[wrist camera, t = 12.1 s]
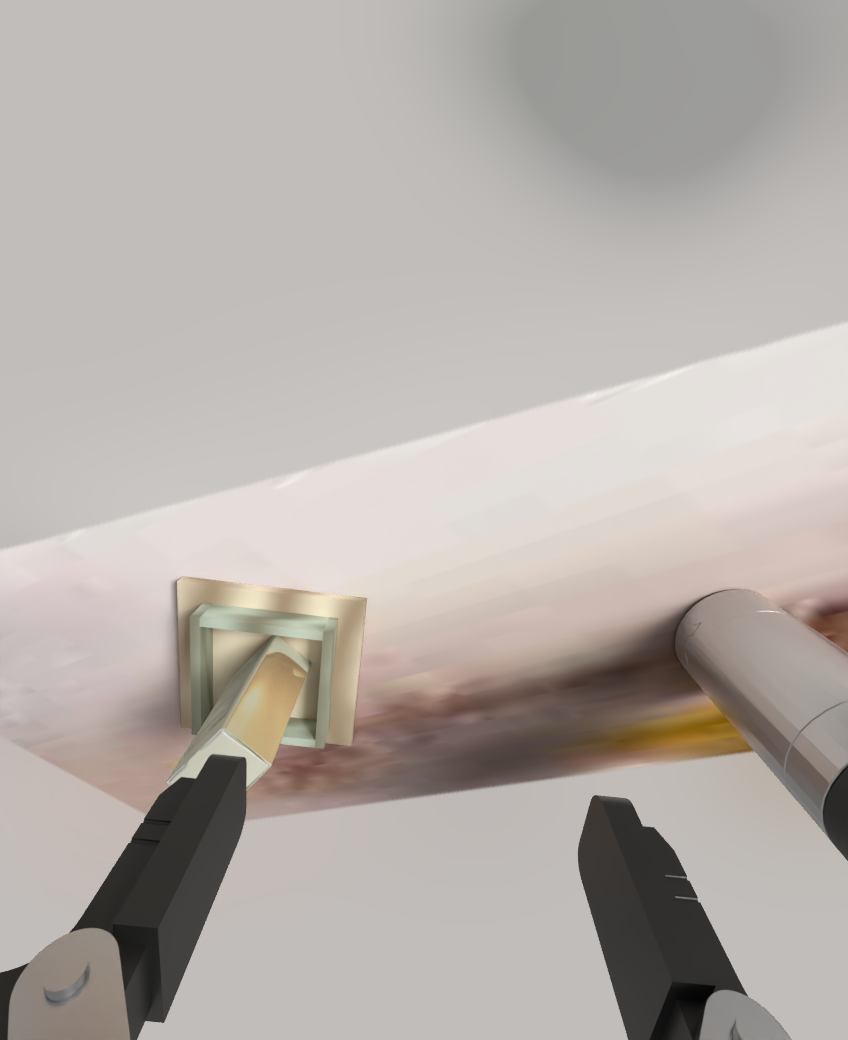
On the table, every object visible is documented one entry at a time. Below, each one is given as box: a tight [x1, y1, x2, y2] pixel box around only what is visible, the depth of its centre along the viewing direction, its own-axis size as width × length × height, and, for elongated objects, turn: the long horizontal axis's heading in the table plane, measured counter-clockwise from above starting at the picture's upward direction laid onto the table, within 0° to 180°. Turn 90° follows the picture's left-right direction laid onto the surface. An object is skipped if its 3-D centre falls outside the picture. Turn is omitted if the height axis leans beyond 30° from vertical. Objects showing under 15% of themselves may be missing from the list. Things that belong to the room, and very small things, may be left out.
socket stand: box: [177, 577, 367, 749], centre depth 43 cm, size 16×15×4 cm
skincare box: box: [167, 635, 311, 790], centre depth 38 cm, size 6×4×12 cm
